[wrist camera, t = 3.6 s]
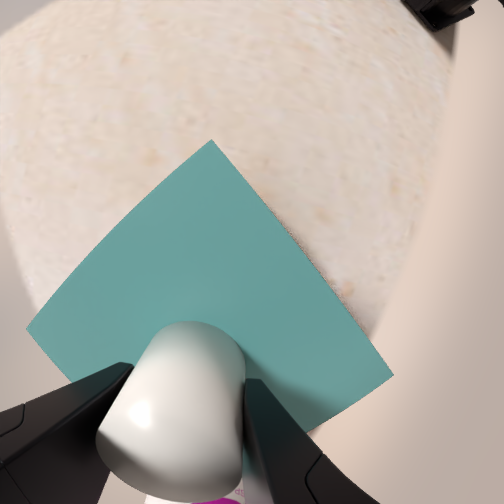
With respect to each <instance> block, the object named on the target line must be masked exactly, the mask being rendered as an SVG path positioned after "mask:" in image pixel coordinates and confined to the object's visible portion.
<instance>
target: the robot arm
mask: <svg viewBox="0 0 504 504" xmlns="http://www.w3.org/2000/svg"><path fill="white" fill-rule="evenodd" d="M405 1H406V2H407V3H408V4H409V5H410V6H411V7H412V9H413V10H414V11H415V12H416V13H417V14H418V15H419V17H420V18H421V19H422V20H423V21H424V23H425V24H426V25H427V26H428V27H429V29H430V30H432V31H433V32H438V31H440V30H442V29H444V28H446V27H448V26H450V25H452V24H454V23H456V22H458V21H460V20H463V19H465V18H467V17H469V16H471V15H473V14H474V13H475V12H474V9H473V8H472V6H471V5H472V4H474V3H475V2H476V1H478V0H405ZM498 1H499V2H500V3H501V4H502V5H503V7H504V0H498ZM433 24H434V25H435V26H434V25H433ZM134 368H135V367H134V365H133V364H131V363H125V362H118V363H115V364H113V365H111V366H109V367H107V368H104V369H102V370H100V371H98V372H96V373H93V374H91V375H89V376H87V377H84V378H82V379H80V380H78V381H75V382H73V383H71V384H68V385H66V386H64V387H61V388H59V389H57V390H54V391H52V392H50V393H47V394H45V395H42V396H40V397H38V398H35V399H33V400H31V401H28V402H26V403H25V404H21V405H18V406H16V407H13V408H10V409H8V410H5V411H2V412H0V504H97V503H98V500H99V498H100V496H101V493H102V490H103V488H104V485H105V483H106V481H107V478H108V476H109V474H110V471H111V470H110V469H109V468H108V467H107V466H106V465H105V463H104V462H103V460H102V459H101V457H100V455H99V453H98V451H97V447H96V433H97V431H98V429H99V427H100V425H101V423H102V422H103V420H104V418H105V416H106V415H107V413H108V411H109V410H110V408H111V406H112V404H113V403H114V401H115V399H116V398H117V396H118V394H119V393H120V391H121V389H122V388H123V386H124V384H125V382H126V381H127V379H128V377H129V376H130V374H131V373H132V371H133V369H134ZM243 427H244V433H243V464H242V480H243V489H244V498H245V504H380V503H379V502H377V501H376V500H375V499H373V498H372V497H371V496H369V495H368V494H367V493H365V492H364V491H363V490H362V489H360V488H359V487H358V486H357V485H356V484H354V483H353V482H352V481H351V480H350V479H349V478H347V477H346V476H345V475H344V474H343V473H342V472H341V471H340V470H339V469H338V468H337V467H336V466H335V465H334V464H333V463H332V462H331V460H330V459H329V458H328V457H327V456H326V455H325V454H323V452H322V451H321V449H320V448H319V447H318V446H317V445H316V444H315V443H314V442H313V440H312V439H311V438H310V437H309V436H308V435H307V434H306V432H305V431H304V430H303V429H302V428H301V427H300V425H299V424H298V423H297V422H296V421H295V420H294V418H293V417H292V416H291V415H290V414H289V412H288V411H287V410H286V409H285V408H284V406H283V405H282V404H281V403H280V402H279V400H278V399H277V398H276V397H275V396H274V394H273V393H272V392H271V391H270V389H269V388H268V387H267V386H266V384H265V383H264V382H263V381H262V380H261V379H258V378H246V379H245V385H244V411H243Z"/></svg>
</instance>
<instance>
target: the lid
mask: <svg viewBox="0 0 504 504" xmlns="http://www.w3.org/2000/svg"><path fill="white" fill-rule="evenodd" d="M26 329H27V331H28V332H29V333H30V335H31V336H32V337H33V339H34V340H35V341H36V342H37V343H38V345H39V346H40V347H41V348H42V350H43V351H44V352H45V353H46V354H47V356H49V358H50V359H51V360H52V361H53V362H54V364H55V365H56V366H57V367H58V368H59V369H60V370H61V371H62V372H63V374H64V375H65V376H66V377H67V378H68V379H69V380H70V381H71V382H72V383H73V382H75V381H78V380H80V379H82V378H84V377H87V376H89V375H91V374H93V373H96V372H98V371H100V370H102V369H104V368H107V367H109V366H111V365H113V364H115V363H118V362H125V363H131V364H133V365H134V367H135V368H134V369H133V371H132V373H131V374H130V376H129V377H128V379H127V381H126V382H125V384H124V386H123V388H122V389H121V391H120V393H119V394H118V396H117V398H116V399H115V401H114V403H113V404H112V406H111V408H110V410H109V411H108V413H107V415H106V416H105V418H104V420H103V422H102V423H101V425H100V427H99V429H98V431H97V433H96V447H97V451H98V453H99V455H100V457H101V459H102V460H103V462H104V463H105V465H106V466H107V467H108V468H109V469H110V470H111V471H112V472H113V473H114V474H115V475H116V476H117V477H118V478H120V479H121V480H122V481H124V482H125V483H127V484H128V485H130V486H131V487H133V488H135V489H137V490H139V491H141V492H143V493H145V494H148V495H151V496H153V497H156V498H160V499H163V500H168V501H173V502H180V503H203V502H209V501H213V500H217V499H220V498H222V497H225V496H226V495H228V494H230V493H231V492H232V491H234V490H235V489H236V488H237V486H238V485H239V483H240V482H241V478H242V464H243V433H244V427H243V411H244V385H245V379H246V378H258V379H261V380H262V381H263V382H264V383H265V384H266V386H267V387H268V388H269V389H270V391H271V392H272V393H273V394H274V396H275V397H276V398H277V399H278V400H279V402H280V403H281V404H282V405H283V406H284V408H285V409H286V410H287V411H288V412H289V414H290V415H291V416H292V417H293V418H294V420H295V421H296V422H297V423H298V424H299V425H300V427H301V428H302V429H303V430H304V431H305V432H306V433H307V432H308V431H310V430H312V429H314V428H315V427H317V426H319V425H321V424H322V423H324V422H326V421H327V420H329V419H330V418H332V417H334V416H335V415H337V414H339V413H340V412H342V411H343V410H345V409H346V408H348V407H349V406H351V405H352V404H354V403H355V402H357V401H358V400H360V399H361V398H363V397H364V396H366V395H367V394H369V393H370V392H372V391H373V390H374V389H376V388H377V387H379V386H380V385H381V384H383V383H384V382H385V381H387V380H388V379H389V378H391V377H392V376H393V375H394V374H393V373H392V372H391V370H390V369H389V368H388V366H387V364H386V363H385V362H384V361H383V359H382V357H381V356H380V355H379V353H378V352H377V351H376V349H375V348H374V346H373V345H372V343H371V342H370V341H369V339H368V338H367V336H366V335H365V334H364V332H363V331H362V330H361V328H360V327H359V325H358V324H357V323H356V321H355V320H354V319H353V317H352V316H351V315H350V313H349V312H348V310H347V309H346V308H345V306H344V305H343V304H342V302H341V301H340V300H339V298H338V297H337V296H336V294H335V293H334V292H333V290H332V289H331V288H330V286H329V285H328V284H327V282H326V281H325V280H324V279H323V277H322V276H321V275H320V273H319V272H318V271H317V269H316V268H315V267H314V265H313V264H312V263H311V262H310V260H309V259H308V258H307V256H306V255H305V254H304V253H303V251H302V250H301V249H300V247H299V246H298V245H297V244H296V242H295V241H294V240H293V238H292V237H291V236H290V235H289V233H288V232H287V231H286V230H285V228H284V227H283V226H282V225H281V223H280V222H279V221H278V219H277V218H276V217H275V216H274V214H273V213H272V212H271V211H270V210H269V208H268V207H267V206H266V205H265V203H264V202H263V201H262V200H261V198H260V197H259V196H258V195H257V193H256V192H255V191H254V190H253V189H252V187H251V186H250V185H249V184H248V182H247V181H246V180H245V179H244V178H243V176H242V175H241V174H240V173H239V172H238V170H237V169H236V168H235V167H234V165H233V164H232V163H231V162H230V161H229V160H228V158H227V157H226V156H225V155H224V154H223V152H222V151H221V150H220V149H219V148H218V146H217V145H216V144H215V143H214V142H213V141H212V139H211V140H210V141H209V142H208V143H206V144H205V145H204V146H203V147H202V148H200V149H199V150H198V151H197V152H196V153H194V154H193V155H192V156H191V157H190V158H189V159H187V160H186V161H185V162H184V163H183V164H182V165H180V166H179V167H178V168H177V169H176V170H175V171H174V172H172V173H171V174H170V175H169V176H168V177H167V178H166V179H165V180H163V181H162V182H161V183H160V184H159V185H158V186H157V187H156V188H155V189H154V190H153V191H151V192H150V193H149V194H148V195H147V196H146V197H145V198H144V199H143V200H142V201H141V202H140V203H139V204H138V205H137V206H136V207H135V208H133V209H132V210H131V211H130V212H129V213H128V214H127V215H126V216H125V217H124V218H123V219H122V220H121V221H120V222H119V223H118V224H117V225H116V226H115V227H114V228H113V229H112V230H111V231H110V232H109V233H108V234H107V235H106V237H105V238H104V239H103V240H102V241H101V242H100V243H99V244H98V245H97V246H96V247H95V248H94V249H93V250H92V251H91V252H90V253H89V254H88V256H87V257H86V258H85V259H84V260H83V261H82V262H81V263H80V264H79V265H78V267H77V268H76V269H75V270H74V271H73V272H72V273H71V274H70V276H69V277H68V278H67V279H66V280H65V281H64V282H63V284H62V285H61V286H60V287H59V288H58V290H57V291H56V292H55V293H54V294H53V295H52V297H51V298H50V299H49V300H48V301H47V303H46V304H45V305H44V306H43V308H42V309H41V310H40V311H39V313H38V314H37V315H36V316H35V318H34V319H33V320H32V322H31V323H30V324H29V325H28V327H27V328H26Z"/></svg>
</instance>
